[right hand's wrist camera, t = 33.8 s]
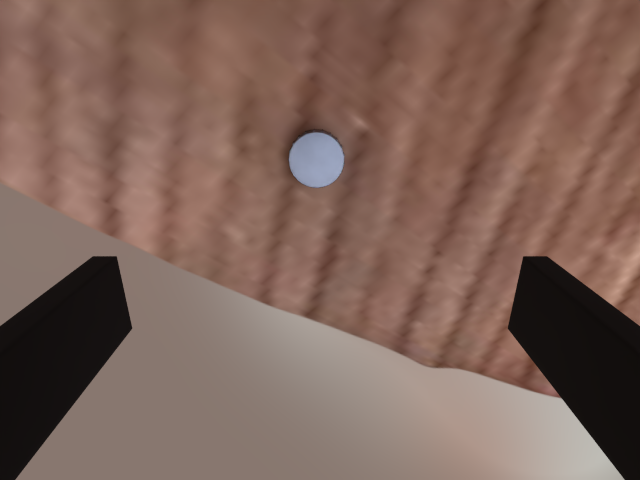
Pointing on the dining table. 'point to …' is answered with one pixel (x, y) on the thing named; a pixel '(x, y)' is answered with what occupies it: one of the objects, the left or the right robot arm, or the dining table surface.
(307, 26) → the dining table surface
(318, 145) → the lid
